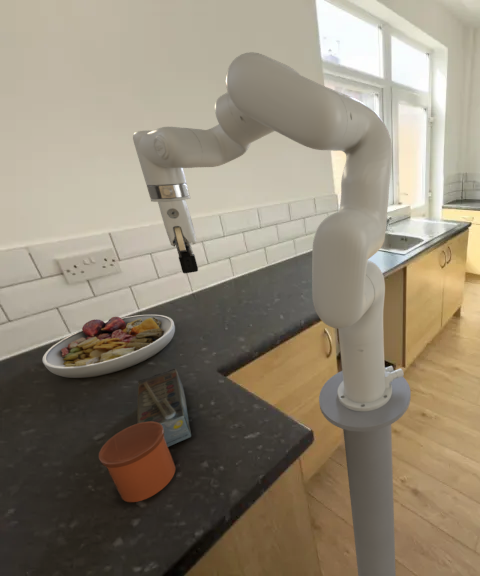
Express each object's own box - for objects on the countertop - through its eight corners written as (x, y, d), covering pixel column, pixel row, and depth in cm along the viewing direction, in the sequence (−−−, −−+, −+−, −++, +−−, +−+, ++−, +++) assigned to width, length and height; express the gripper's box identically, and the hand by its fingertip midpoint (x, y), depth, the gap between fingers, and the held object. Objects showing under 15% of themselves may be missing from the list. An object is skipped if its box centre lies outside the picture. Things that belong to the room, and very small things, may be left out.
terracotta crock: (178, 451, 61) (165, 414, 58) (176, 488, 54) (160, 448, 51) (123, 471, 57) (105, 433, 54) (112, 514, 50) (91, 473, 47)
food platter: (198, 338, 101) (192, 316, 98) (83, 397, 76) (70, 370, 73) (144, 320, 114) (137, 300, 111) (30, 367, 89) (17, 343, 86)
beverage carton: (144, 458, 59) (133, 432, 57) (144, 401, 74) (135, 378, 72) (192, 438, 64) (184, 412, 61) (184, 387, 78) (176, 365, 76)
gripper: (188, 194, 66) (209, 277, 72) (189, 190, 78) (207, 261, 85) (144, 197, 62) (170, 284, 69) (153, 192, 75) (174, 266, 81)
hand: (190, 271), depth 77 cm, fingers closed
